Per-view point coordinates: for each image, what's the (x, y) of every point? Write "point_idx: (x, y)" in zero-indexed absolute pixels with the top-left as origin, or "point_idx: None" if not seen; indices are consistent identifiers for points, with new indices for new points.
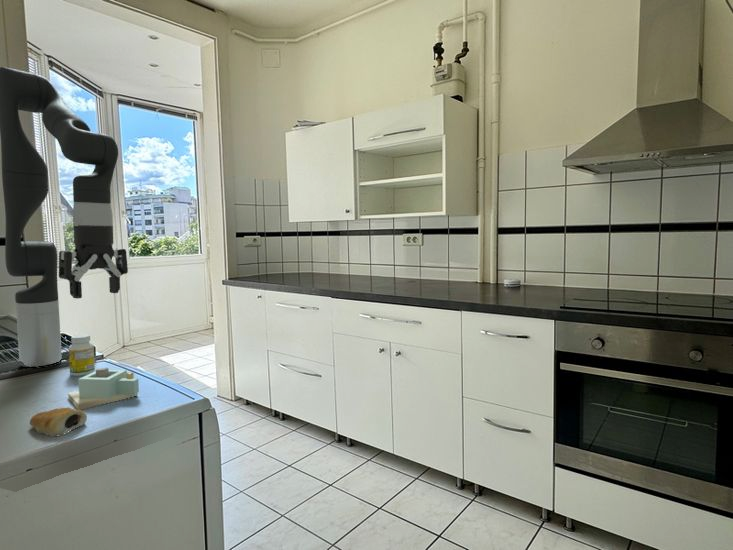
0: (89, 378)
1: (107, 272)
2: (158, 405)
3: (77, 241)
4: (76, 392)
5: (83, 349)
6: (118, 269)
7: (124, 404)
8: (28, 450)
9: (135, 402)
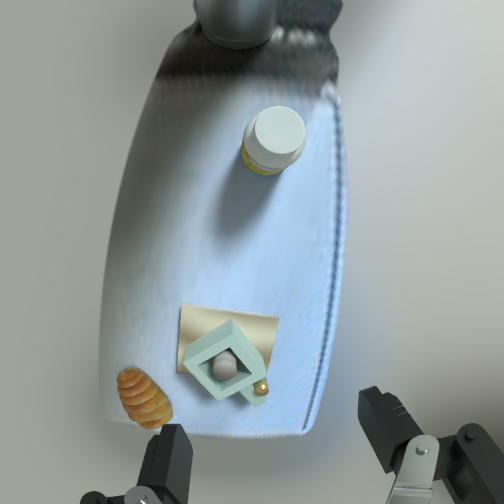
0: (197, 374)
1: (399, 470)
2: (262, 421)
3: None
4: (192, 315)
5: (268, 167)
6: (452, 466)
7: None
8: (116, 418)
9: None
